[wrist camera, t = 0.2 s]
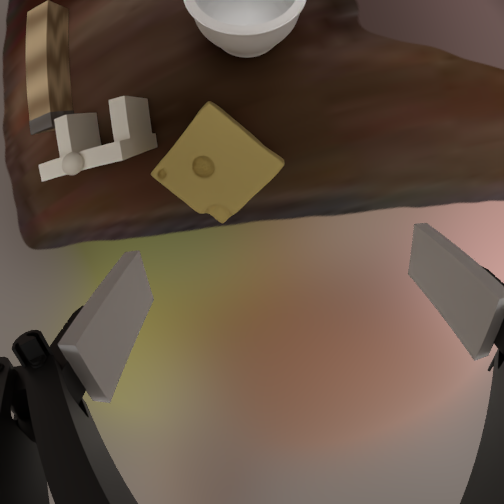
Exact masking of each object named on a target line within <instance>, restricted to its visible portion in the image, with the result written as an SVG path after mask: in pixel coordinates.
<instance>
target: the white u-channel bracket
mask: <svg viewBox="0 0 504 504" xmlns="http://www.w3.org/2000/svg"><path fill="white" fill-rule="evenodd" d="M109 108H110V116H111V124H112V130H113V137H114V142H113V143H109V144H105V145H101V140H100V134H99V127H98V120H97V113H79V114H66V115H64V116H61V117H59V118H56V119H54V122H55V129H56V136H57V142H58V148H59V154H60V158H57V159H54V160H51V161H48V162H46V163H43V164H40V165H39V170H40V175H41V180H42V182H43V181H46V180H49V179H53V178H56V177H59V176H63V175H66V174H68V175H75V174H77V173H79V172H80V171H81V170H85V169H89V168H93V167H97V166H101V165H105V164H109V163H114V162H118V161H123V160H125V159H128V158H130V157H133V156H135V155H138V154H141V153H143V152H146V151H149V150H151V149H154V148H157V147H158V146H157V139H156V133H153V134H152V129H151V122H150V114H149V106H148V99H147V98H139V97H132V96H121V97H118V98H114V99H111V100H109Z"/></svg>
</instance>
